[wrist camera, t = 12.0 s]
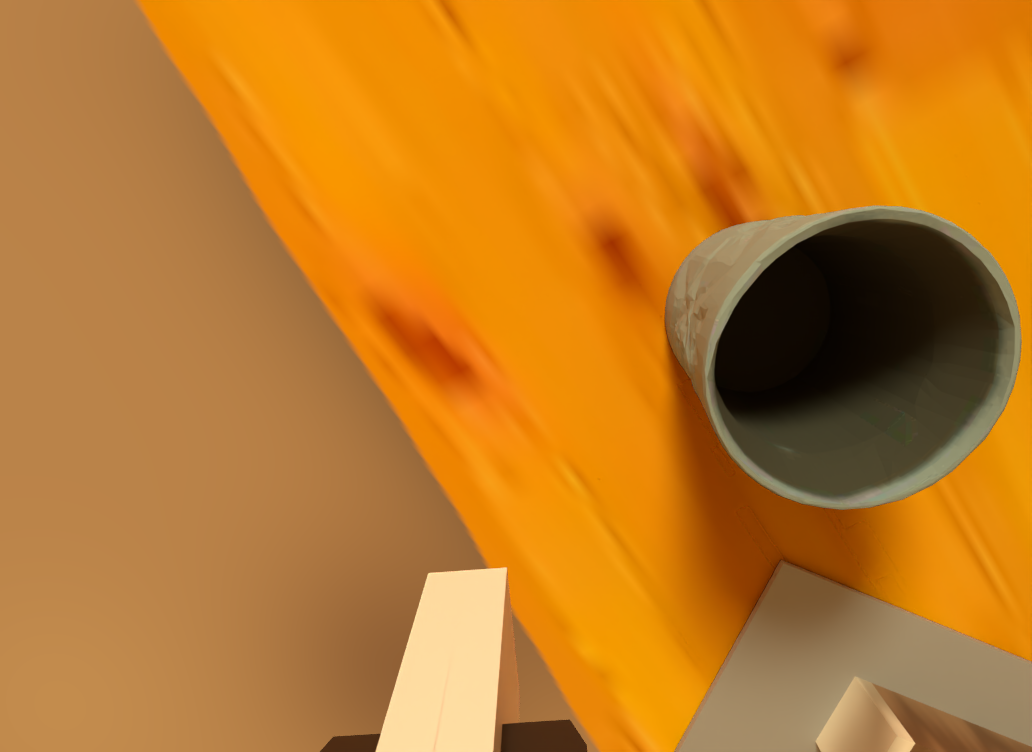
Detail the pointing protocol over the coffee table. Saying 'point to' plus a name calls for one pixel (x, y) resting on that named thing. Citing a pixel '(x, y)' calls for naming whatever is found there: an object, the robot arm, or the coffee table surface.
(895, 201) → the coffee table surface
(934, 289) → the grey green cup
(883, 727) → the walnut block
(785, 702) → the felt mat
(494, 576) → the robot arm
